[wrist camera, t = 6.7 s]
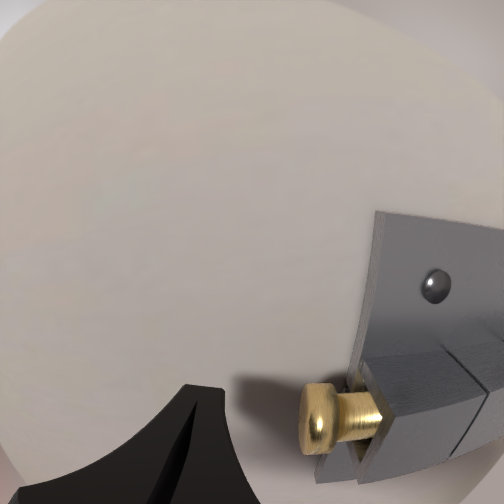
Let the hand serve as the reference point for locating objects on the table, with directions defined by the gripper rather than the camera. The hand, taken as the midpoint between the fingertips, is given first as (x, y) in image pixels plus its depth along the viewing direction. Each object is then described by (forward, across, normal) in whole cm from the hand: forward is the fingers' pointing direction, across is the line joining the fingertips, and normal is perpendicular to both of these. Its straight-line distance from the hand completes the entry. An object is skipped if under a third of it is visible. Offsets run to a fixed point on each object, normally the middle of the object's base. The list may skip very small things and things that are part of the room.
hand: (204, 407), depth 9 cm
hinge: (+2, -11, 0) cm, 11 cm away
